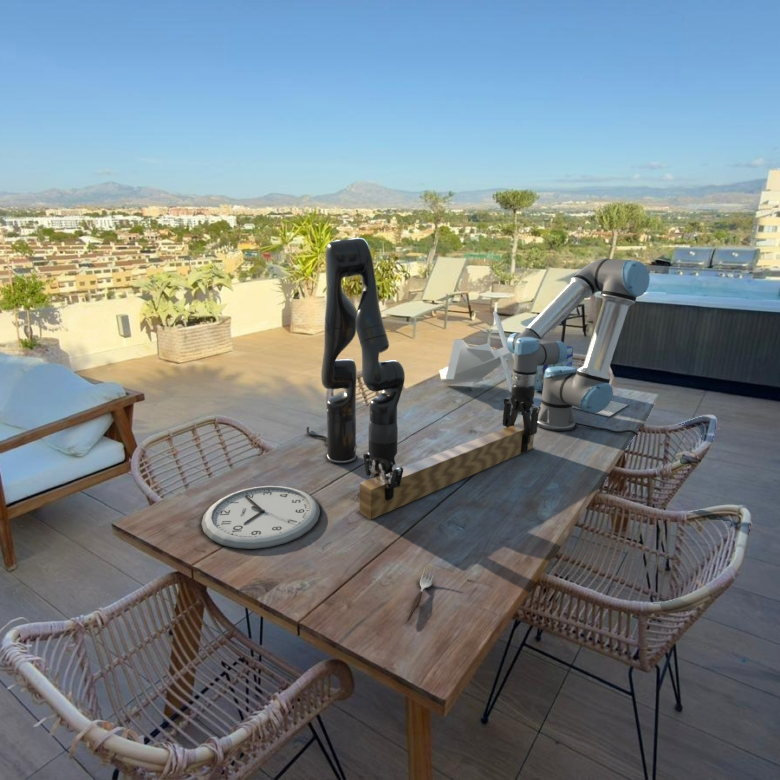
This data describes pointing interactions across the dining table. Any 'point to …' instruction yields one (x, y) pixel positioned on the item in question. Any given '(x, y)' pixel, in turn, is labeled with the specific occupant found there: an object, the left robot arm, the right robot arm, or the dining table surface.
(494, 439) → the post
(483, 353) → the white plastic object
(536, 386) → the lunch box
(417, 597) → the fork
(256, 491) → the wall clock
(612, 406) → the invitation card
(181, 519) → the dining table surface
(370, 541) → the dining table surface
